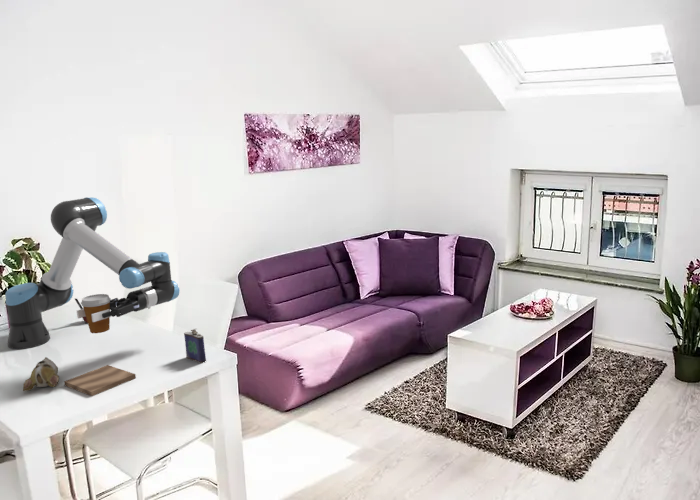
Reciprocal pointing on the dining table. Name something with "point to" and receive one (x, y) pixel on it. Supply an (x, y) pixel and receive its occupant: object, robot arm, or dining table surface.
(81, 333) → the dining table surface
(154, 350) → the dining table surface
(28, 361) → the dining table surface
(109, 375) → the walnut board
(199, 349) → the flask
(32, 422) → the dining table surface
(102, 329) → the disposable coffee cup
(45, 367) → the ceramic sculpture
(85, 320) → the cocoa
